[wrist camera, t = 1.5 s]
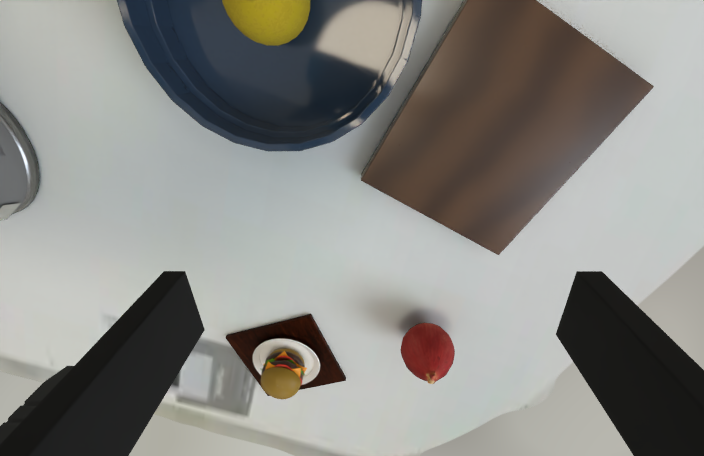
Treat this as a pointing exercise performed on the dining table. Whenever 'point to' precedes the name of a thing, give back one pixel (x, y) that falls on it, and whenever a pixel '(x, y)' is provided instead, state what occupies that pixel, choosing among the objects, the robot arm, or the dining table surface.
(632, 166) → the dining table surface
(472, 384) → the dining table surface
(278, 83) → the bowl
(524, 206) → the board
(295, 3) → the lemon
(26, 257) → the dining table surface
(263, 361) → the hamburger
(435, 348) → the onion
